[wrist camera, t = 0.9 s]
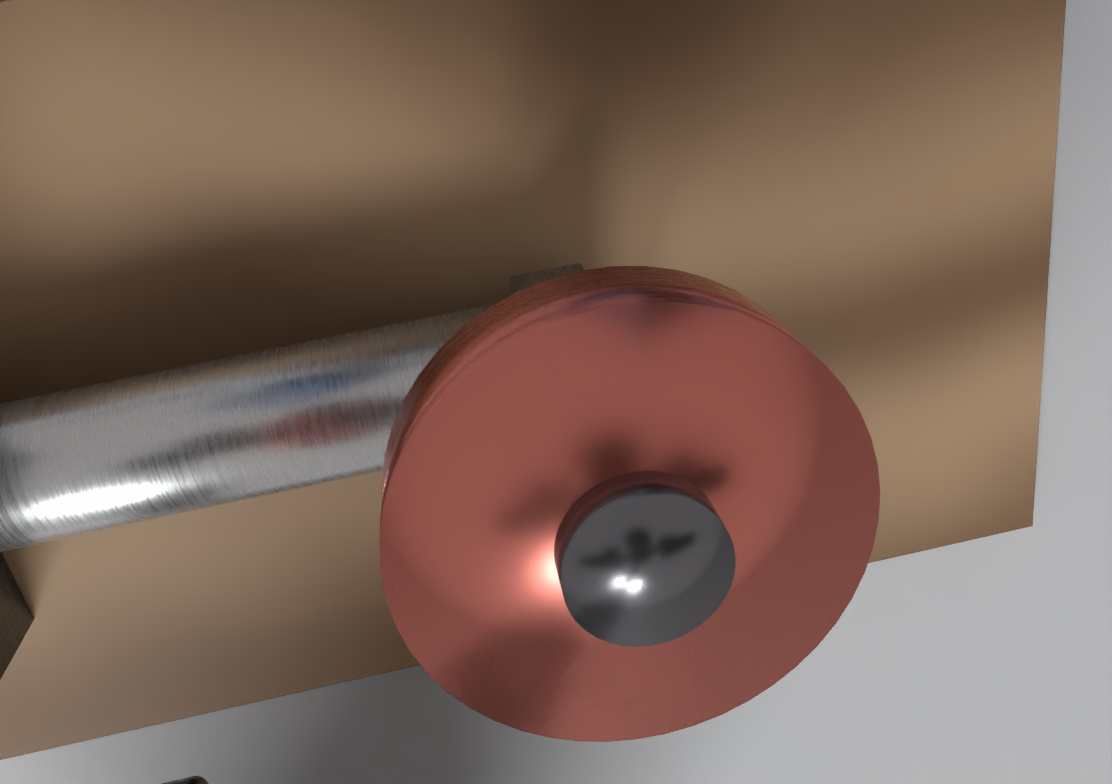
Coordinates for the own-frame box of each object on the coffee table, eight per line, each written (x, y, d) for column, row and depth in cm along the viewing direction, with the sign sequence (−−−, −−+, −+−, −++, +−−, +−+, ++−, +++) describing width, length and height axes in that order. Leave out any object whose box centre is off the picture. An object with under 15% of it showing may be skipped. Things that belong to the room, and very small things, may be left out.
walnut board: (1016, 512, 22) (1031, 525, 22) (-232, 793, 20) (-250, 816, 20) (1055, -182, 16) (1077, -186, 16) (-705, 126, 14) (-749, 132, 14)
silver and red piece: (717, 435, 19) (904, 713, 12) (-249, 643, 18) (-677, 1091, 11) (687, 138, 17) (903, 269, 10) (-438, 356, 16) (-1158, 693, 8)
